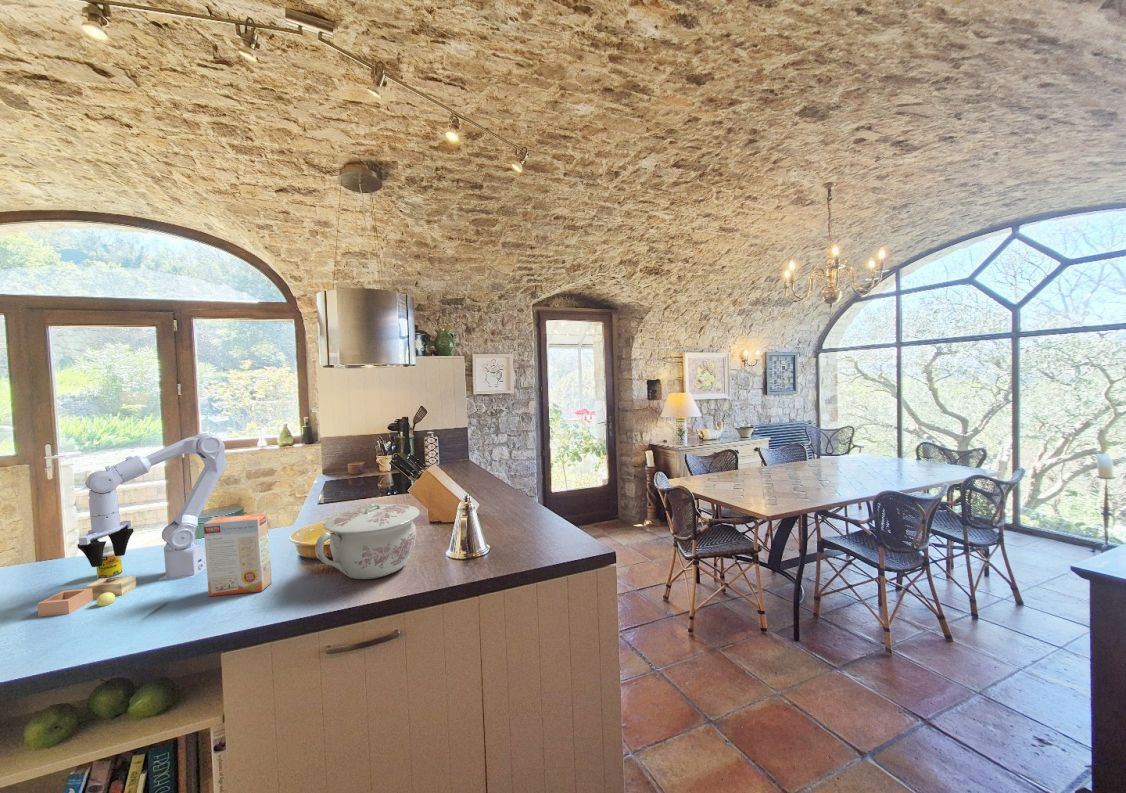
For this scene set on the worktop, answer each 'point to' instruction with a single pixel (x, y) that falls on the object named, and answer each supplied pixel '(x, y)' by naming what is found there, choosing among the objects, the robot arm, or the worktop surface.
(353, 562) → the chamber pot
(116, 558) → the supplement bottle
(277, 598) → the worktop surface
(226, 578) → the cracker box
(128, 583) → the lid
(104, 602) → the yellow ball
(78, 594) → the pink open box
